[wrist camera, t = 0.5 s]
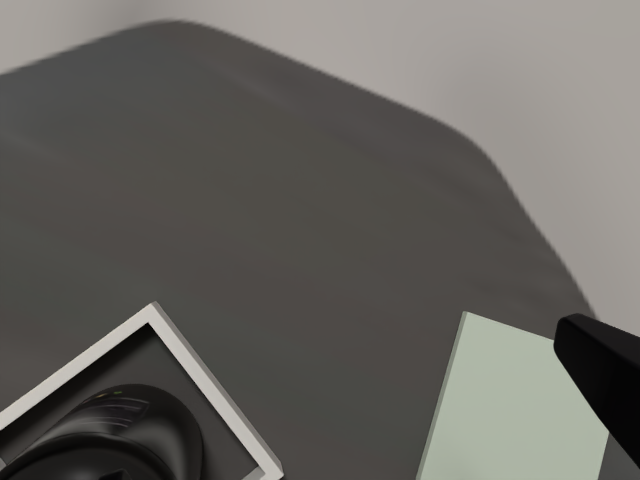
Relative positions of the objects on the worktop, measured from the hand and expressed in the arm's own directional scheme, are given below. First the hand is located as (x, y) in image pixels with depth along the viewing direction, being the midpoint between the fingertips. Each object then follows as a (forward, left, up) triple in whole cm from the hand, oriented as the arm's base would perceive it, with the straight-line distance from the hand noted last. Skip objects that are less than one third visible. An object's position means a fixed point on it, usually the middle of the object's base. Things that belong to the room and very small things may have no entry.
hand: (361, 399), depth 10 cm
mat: (-14, -5, -15) cm, 21 cm away
